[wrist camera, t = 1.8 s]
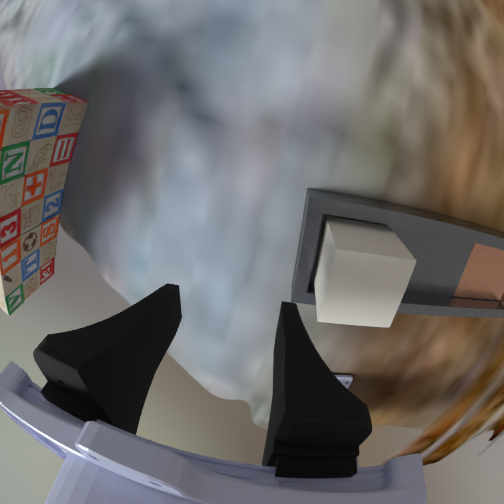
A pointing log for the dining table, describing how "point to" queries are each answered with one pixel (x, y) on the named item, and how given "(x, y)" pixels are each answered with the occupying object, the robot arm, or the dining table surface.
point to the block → (360, 273)
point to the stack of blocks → (32, 184)
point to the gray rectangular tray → (415, 255)
